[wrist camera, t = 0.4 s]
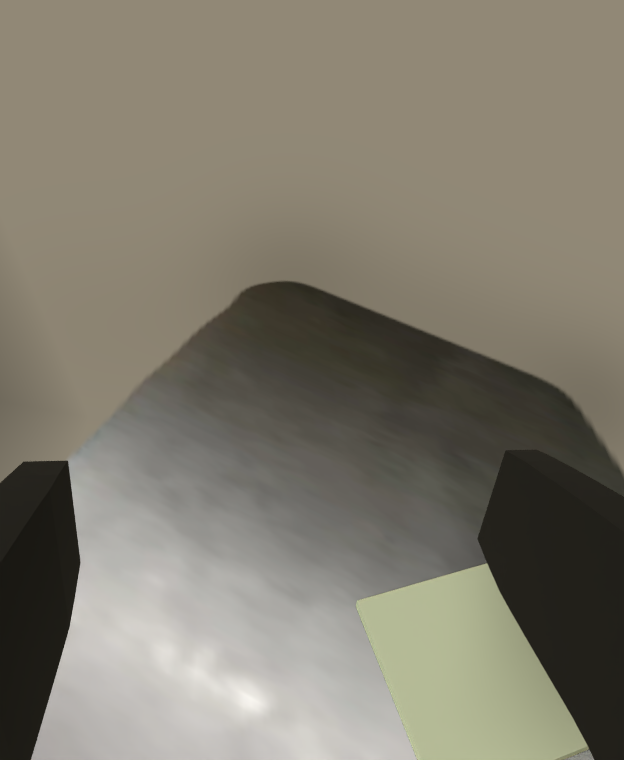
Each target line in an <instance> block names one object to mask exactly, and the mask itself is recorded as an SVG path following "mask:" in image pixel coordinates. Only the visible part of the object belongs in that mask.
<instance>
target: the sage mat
mask: <svg viewBox="0 0 624 760" xmlns="http://www.w3.org/2000/svg"><path fill="white" fill-rule="evenodd" d="M356 608H357V611H358V613H359V616H360V618H361V621H362V623H363V626H364V628H365V631H366V633H367V635H368V638H369V640H370V643H371V645H372V648H373V650H374V653H375V655H376V658H377V660H378V663H379V665H380V668H381V670H382V673H383V675H384V678H385V680H386V683H387V685H388V688H389V690H390V693H391V695H392V698H393V700H394V703H395V705H396V708H397V710H398V713H399V715H400V718H401V720H402V723H403V725H404V728H405V730H406V732H407V735H408V737H409V740H410V742H411V745H412V747H413V750H414V752H415V755H416V757H417V760H564V759H566V758H569V757H571V756H574V755H576V754H579V753H581V752H583V751H586V750H588V749H589V747H588V746H587V744H586V742H585V740H584V738H583V736H582V734H581V732H580V731H579V729H578V727H577V725H576V723H575V721H574V719H573V718H572V716H571V714H570V712H569V711H568V709H567V707H566V706H565V704H564V702H563V700H562V699H561V697H560V695H559V694H558V692H557V690H556V689H555V687H554V685H553V683H552V682H551V680H550V678H549V677H548V675H547V673H546V671H545V670H544V668H543V666H542V665H541V663H540V661H539V659H538V658H537V656H536V654H535V653H534V651H533V649H532V648H531V646H530V644H529V642H528V641H527V639H526V637H525V636H524V634H523V632H522V630H521V629H520V627H519V625H518V623H517V622H516V620H515V618H514V616H513V615H512V613H511V611H510V609H509V608H508V606H507V604H506V602H505V600H504V599H503V597H502V595H501V593H500V591H499V589H498V587H497V585H496V582H495V580H494V578H493V575H492V573H491V571H490V569H489V566H488V564H483V565H480V566H476V567H473V568H469V569H466V570H462V571H459V572H455V573H452V574H448V575H445V576H441V577H438V578H434V579H431V580H427V581H424V582H420V583H417V584H413V585H410V586H407V587H403V588H400V589H396V590H393V591H389V592H386V593H382V594H379V595H375V596H372V597H368V598H365V599H361V600H358V601H357V604H356Z"/></svg>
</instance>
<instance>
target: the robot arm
mask: <svg viewBox="0 0 624 760" xmlns="http://www.w3.org/2000/svg"><path fill="white" fill-rule="evenodd" d="M478 541H479V543H480V546H481V548H482V551H483V554H484V556H485V559H486V561H487V564H488V566H489V569H490V571H491V573H492V575H493V578H494V580H495V582H496V585H497V587H498V589H499V591H500V593H501V595H502V597H503V599H504V600H505V602H506V604H507V606H508V608H509V609H510V611H511V613H512V615H513V616H514V618H515V620H516V622H517V623H518V625H519V627H520V629H521V630H522V632H523V634H524V636H525V637H526V639H527V641H528V642H529V644H530V646H531V648H532V649H533V651H534V653H535V654H536V656H537V658H538V659H539V661H540V663H541V665H542V666H543V668H544V670H545V671H546V673H547V675H548V677H549V678H550V680H551V682H552V683H553V685H554V687H555V689H556V690H557V692H558V694H559V695H560V697H561V699H562V700H563V702H564V704H565V706H566V707H567V709H568V711H569V712H570V714H571V716H572V718H573V719H574V721H575V723H576V725H577V727H578V729H579V731H580V732H581V734H582V736H583V738H584V740H585V742H586V744H587V746H588V747H589V749H590V751H591V753H592V756H593V758H594V760H624V497H623V496H621V495H619V494H618V493H616V492H614V491H613V490H611V489H609V488H607V487H606V486H604V485H602V484H600V483H599V482H597V481H595V480H593V479H592V478H590V477H588V476H586V475H585V474H583V473H581V472H579V471H577V470H576V469H574V468H572V467H570V466H568V465H566V464H565V463H563V462H561V461H559V460H557V459H555V458H553V457H551V456H549V455H547V454H545V453H543V452H540V451H538V450H506V451H505V454H504V457H503V460H502V463H501V467H500V470H499V473H498V476H497V479H496V482H495V485H494V489H493V492H492V495H491V498H490V501H489V504H488V507H487V511H486V514H485V517H484V520H483V523H482V526H481V529H480V533H479V536H478ZM79 568H80V555H79V547H78V539H77V531H76V523H75V515H74V506H73V498H72V490H71V482H70V474H69V466H68V461H38V462H37V461H35V462H23V463H22V464H21V465H19V466H18V467H17V468H16V469H15V470H14V471H13V472H12V473H11V474H9V475H8V476H7V477H6V478H5V479H4V480H3V481H2V482H1V483H0V760H31V758H32V754H33V751H34V747H35V744H36V741H37V737H38V734H39V730H40V727H41V724H42V720H43V717H44V713H45V710H46V707H47V703H48V700H49V696H50V693H51V690H52V686H53V683H54V679H55V676H56V672H57V669H58V665H59V662H60V659H61V655H62V652H63V648H64V645H65V641H66V638H67V634H68V630H69V627H70V621H71V615H72V610H73V604H74V599H75V593H76V586H77V580H78V574H79Z"/></svg>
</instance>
